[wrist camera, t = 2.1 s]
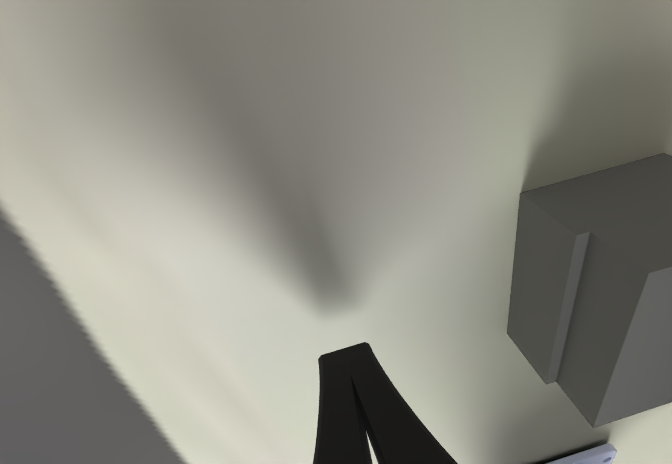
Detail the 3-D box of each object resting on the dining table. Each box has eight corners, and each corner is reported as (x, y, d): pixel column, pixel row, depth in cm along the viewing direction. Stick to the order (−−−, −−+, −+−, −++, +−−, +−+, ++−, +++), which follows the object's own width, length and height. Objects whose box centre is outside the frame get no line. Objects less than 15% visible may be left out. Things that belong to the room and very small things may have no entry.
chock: (613, 295, 15) (721, 385, 12) (504, 329, 15) (582, 431, 11) (658, 150, 11) (828, 219, 8) (516, 190, 11) (633, 278, 8)
